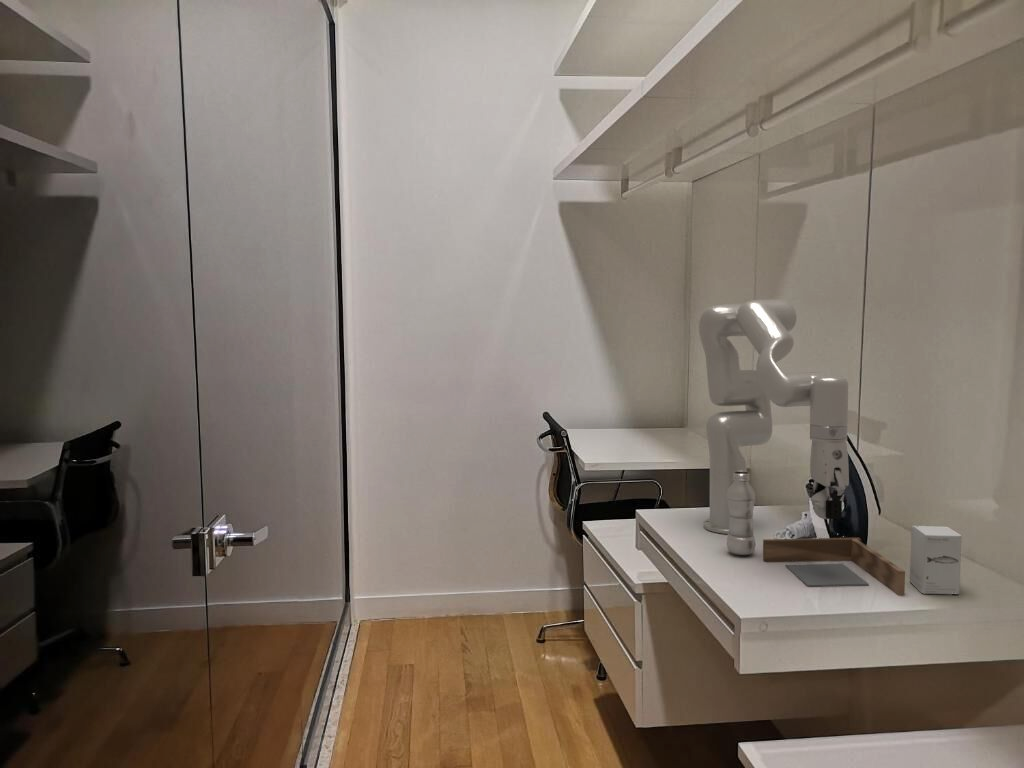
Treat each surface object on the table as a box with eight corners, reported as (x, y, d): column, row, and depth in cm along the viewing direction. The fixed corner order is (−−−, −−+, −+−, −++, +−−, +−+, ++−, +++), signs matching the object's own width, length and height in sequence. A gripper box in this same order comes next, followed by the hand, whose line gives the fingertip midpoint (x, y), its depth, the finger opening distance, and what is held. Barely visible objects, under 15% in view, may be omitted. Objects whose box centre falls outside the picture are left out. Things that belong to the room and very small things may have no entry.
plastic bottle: (756, 559, 183) (757, 475, 181) (727, 557, 184) (727, 475, 182) (754, 550, 189) (754, 470, 187) (725, 549, 190) (725, 469, 188)
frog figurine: (847, 522, 166) (848, 490, 165) (813, 522, 167) (814, 490, 166) (839, 515, 172) (839, 484, 171) (806, 514, 173) (806, 484, 172)
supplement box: (921, 594, 158) (923, 534, 157) (908, 582, 166) (910, 524, 164) (960, 596, 157) (962, 535, 156) (945, 583, 165) (947, 525, 163)
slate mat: (785, 566, 177) (785, 564, 177) (842, 565, 177) (842, 563, 177) (807, 586, 164) (807, 585, 164) (868, 585, 164) (868, 583, 164)
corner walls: (763, 560, 182) (763, 539, 181) (858, 558, 182) (858, 537, 181) (800, 597, 158) (800, 573, 158) (909, 594, 158) (910, 571, 158)
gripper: (863, 439, 159) (861, 524, 160) (829, 426, 176) (827, 504, 178) (827, 439, 159) (825, 525, 160) (796, 427, 176) (795, 504, 178)
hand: (826, 513), depth 169 cm, fingers closed on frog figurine, 6 cm apart
